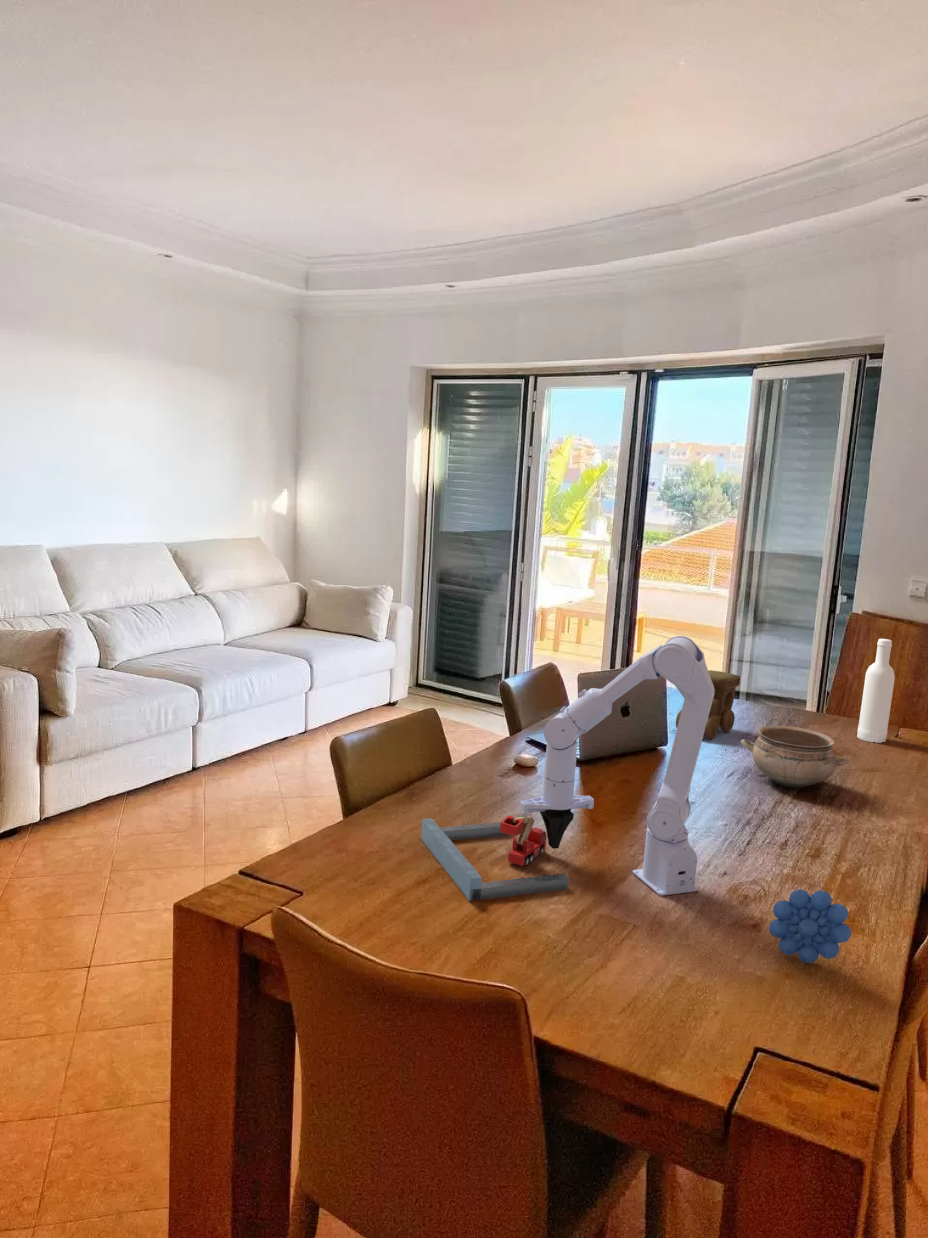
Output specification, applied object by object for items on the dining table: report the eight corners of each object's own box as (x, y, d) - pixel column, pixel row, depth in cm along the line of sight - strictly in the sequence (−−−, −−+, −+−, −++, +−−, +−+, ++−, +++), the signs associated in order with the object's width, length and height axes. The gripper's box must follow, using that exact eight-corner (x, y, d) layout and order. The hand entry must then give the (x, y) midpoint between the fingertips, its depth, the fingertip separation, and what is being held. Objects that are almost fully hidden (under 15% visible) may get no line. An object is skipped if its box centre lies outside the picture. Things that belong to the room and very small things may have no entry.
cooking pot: (848, 784, 222) (854, 736, 220) (840, 807, 205) (847, 755, 204) (745, 763, 233) (750, 718, 231) (729, 783, 217) (735, 734, 215)
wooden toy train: (702, 721, 272) (707, 668, 270) (737, 730, 265) (744, 675, 262) (670, 733, 257) (676, 677, 255) (707, 743, 250) (714, 685, 247)
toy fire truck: (547, 851, 171) (551, 802, 169) (512, 876, 159) (516, 824, 158) (531, 846, 173) (535, 798, 171) (496, 870, 161) (500, 819, 160)
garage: (568, 889, 156) (570, 867, 155) (469, 901, 149) (470, 878, 148) (508, 830, 180) (510, 811, 179) (421, 838, 173) (422, 819, 172)
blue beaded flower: (851, 963, 137) (861, 890, 135) (842, 983, 131) (852, 906, 129) (773, 938, 143) (782, 867, 141) (761, 955, 138) (771, 882, 136)
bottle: (887, 739, 266) (902, 640, 261) (884, 745, 259) (898, 643, 254) (858, 733, 270) (872, 636, 265) (854, 739, 263) (868, 639, 258)
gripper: (583, 768, 173) (577, 834, 175) (514, 772, 167) (509, 841, 170) (601, 780, 166) (595, 849, 168) (530, 785, 161) (525, 856, 163)
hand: (553, 846), depth 169 cm, fingers closed
